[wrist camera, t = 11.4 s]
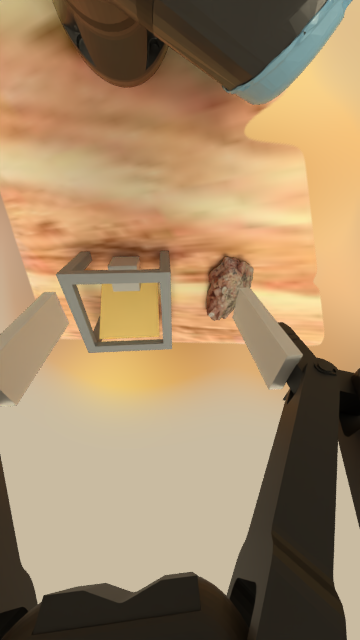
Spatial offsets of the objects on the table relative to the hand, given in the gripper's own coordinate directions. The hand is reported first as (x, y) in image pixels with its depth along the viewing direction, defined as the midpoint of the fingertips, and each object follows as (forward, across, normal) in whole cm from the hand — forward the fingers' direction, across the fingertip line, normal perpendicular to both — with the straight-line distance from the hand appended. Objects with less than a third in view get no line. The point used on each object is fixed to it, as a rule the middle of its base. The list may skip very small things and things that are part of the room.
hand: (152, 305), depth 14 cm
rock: (+33, +17, -15) cm, 40 cm away
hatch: (+27, -8, -18) cm, 34 cm away
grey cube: (+30, -8, -13) cm, 34 cm away
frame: (+33, -8, -16) cm, 37 cm away
